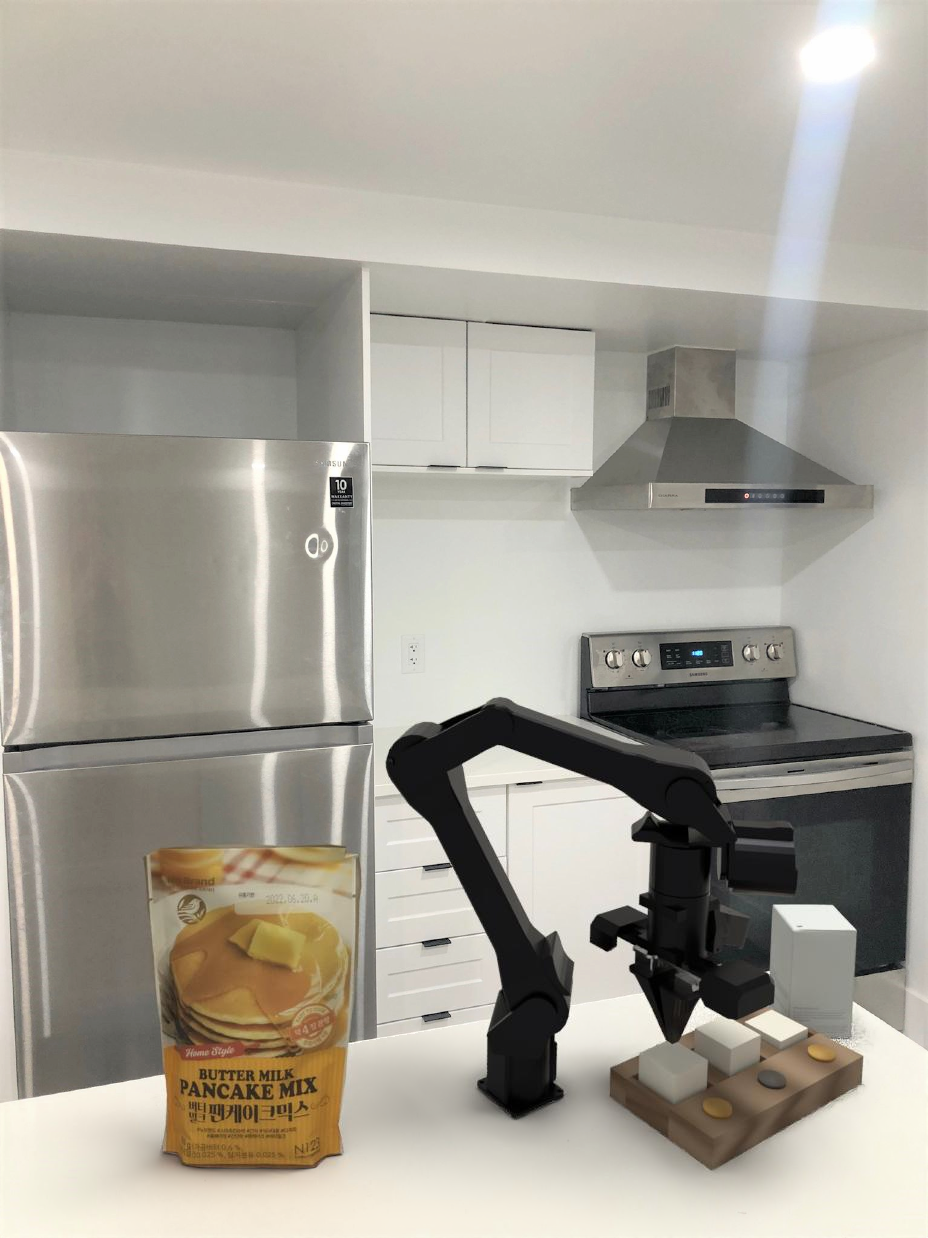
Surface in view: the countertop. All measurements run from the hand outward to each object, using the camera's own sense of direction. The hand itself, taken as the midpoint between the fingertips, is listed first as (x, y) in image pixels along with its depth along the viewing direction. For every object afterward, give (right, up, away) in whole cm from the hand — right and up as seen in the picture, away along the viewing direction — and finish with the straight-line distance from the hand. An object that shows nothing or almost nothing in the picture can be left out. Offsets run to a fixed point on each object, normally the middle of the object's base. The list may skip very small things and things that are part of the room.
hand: (672, 1041), depth 91 cm
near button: (0, -5, 0) cm, 5 cm away
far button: (+13, -6, +10) cm, 17 cm away
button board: (+7, -7, +4) cm, 11 cm away
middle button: (+7, -4, +5) cm, 9 cm away
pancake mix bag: (-39, -7, -5) cm, 40 cm away
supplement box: (+20, -6, +17) cm, 27 cm away
